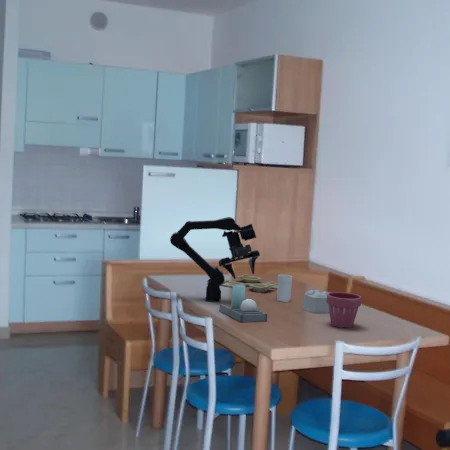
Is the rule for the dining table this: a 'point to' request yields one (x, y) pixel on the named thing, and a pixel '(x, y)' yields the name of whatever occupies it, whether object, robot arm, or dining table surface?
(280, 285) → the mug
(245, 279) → the tableware set
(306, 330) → the dining table surface
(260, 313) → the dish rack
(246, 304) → the white half-round piece
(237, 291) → the aqua tapered cylinder
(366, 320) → the dining table surface
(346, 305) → the plant pot
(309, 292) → the lumpy-topped squat cylinder
